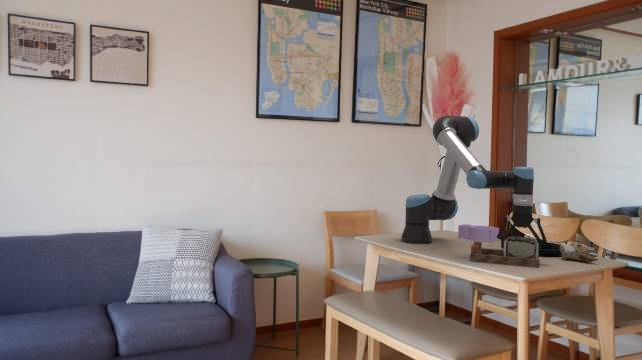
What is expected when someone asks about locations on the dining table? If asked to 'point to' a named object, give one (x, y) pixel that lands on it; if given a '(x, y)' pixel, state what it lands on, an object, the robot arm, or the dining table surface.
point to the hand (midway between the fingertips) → (520, 257)
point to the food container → (521, 247)
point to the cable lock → (547, 249)
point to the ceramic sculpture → (576, 252)
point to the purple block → (478, 233)
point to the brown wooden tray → (499, 257)
